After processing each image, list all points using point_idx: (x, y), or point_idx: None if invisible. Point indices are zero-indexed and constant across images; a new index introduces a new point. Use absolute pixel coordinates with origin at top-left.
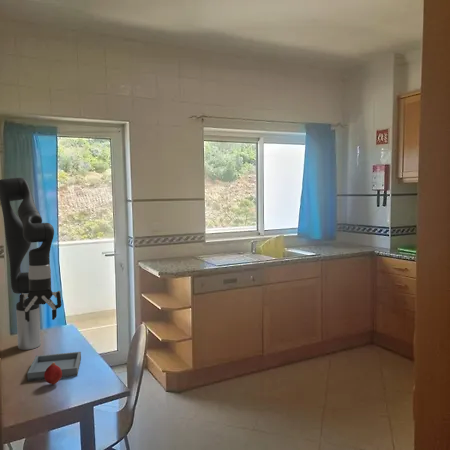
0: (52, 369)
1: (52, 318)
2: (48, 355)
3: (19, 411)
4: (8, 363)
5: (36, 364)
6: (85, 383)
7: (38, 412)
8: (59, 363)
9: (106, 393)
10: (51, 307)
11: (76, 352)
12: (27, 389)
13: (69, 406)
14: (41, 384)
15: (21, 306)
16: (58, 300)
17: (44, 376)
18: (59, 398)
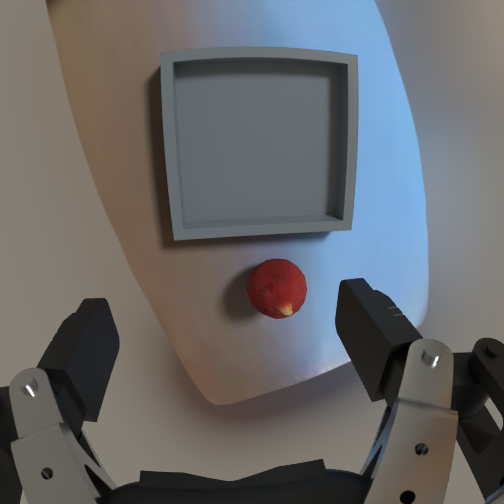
0: (282, 317)
1: (342, 336)
2: (217, 56)
3: (215, 379)
4: (64, 55)
5: (176, 110)
6: (359, 277)
7: (257, 385)
8: (271, 108)
9: None
10: (381, 432)
11: (341, 57)
12: (197, 286)
13: (317, 372)
14: (232, 261)
15: (15, 467)
16: (486, 465)
17: (250, 300)
18: (295, 343)
